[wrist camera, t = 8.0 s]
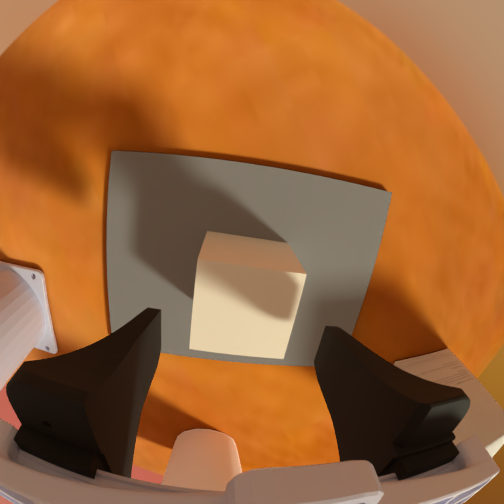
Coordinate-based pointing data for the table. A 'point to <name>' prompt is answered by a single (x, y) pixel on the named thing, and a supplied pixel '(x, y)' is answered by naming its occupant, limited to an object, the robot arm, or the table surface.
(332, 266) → the charcoal mat
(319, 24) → the table surface
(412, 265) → the table surface
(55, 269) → the table surface
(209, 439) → the foam cup
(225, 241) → the cream cube
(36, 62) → the table surface
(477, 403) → the supplement box
